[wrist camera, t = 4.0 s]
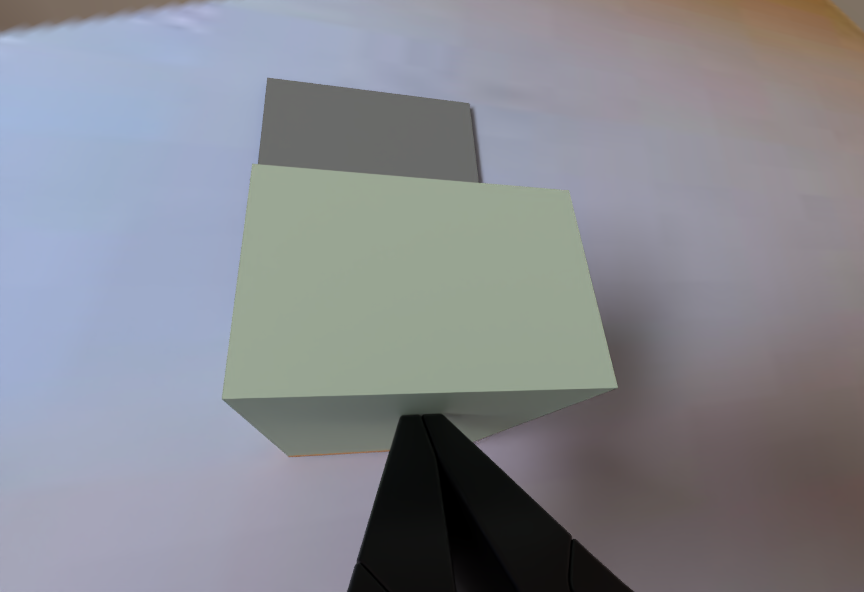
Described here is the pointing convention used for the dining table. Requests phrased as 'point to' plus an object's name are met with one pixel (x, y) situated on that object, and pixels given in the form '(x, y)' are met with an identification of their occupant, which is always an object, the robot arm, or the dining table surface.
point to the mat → (366, 132)
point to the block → (407, 308)
